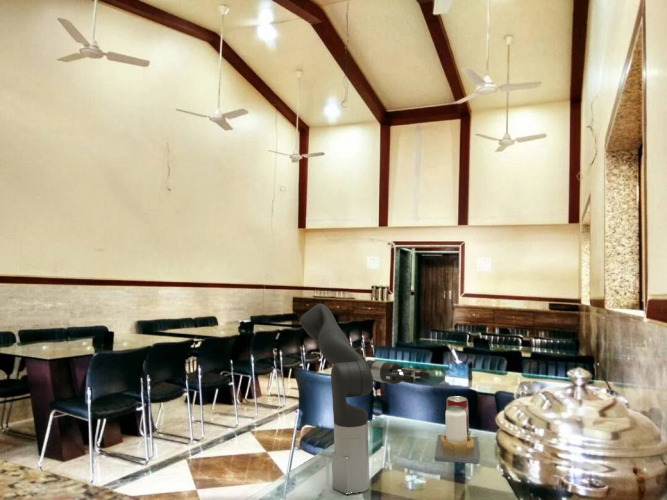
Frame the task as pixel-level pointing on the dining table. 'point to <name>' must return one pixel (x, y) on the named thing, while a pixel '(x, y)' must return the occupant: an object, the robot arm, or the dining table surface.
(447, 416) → the can
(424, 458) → the dining table surface
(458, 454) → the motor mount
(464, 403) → the soda can
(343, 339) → the robot arm
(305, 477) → the dining table surface
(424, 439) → the dining table surface
